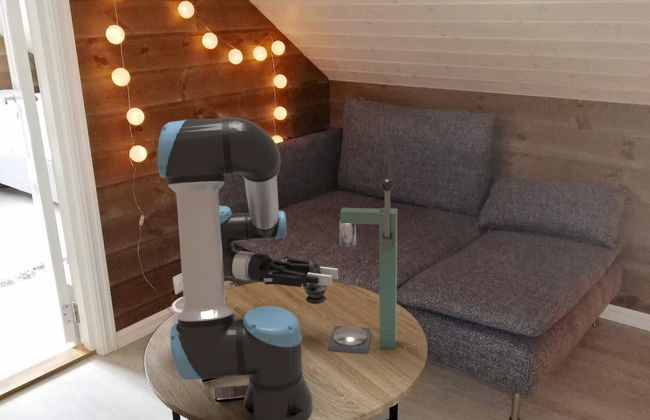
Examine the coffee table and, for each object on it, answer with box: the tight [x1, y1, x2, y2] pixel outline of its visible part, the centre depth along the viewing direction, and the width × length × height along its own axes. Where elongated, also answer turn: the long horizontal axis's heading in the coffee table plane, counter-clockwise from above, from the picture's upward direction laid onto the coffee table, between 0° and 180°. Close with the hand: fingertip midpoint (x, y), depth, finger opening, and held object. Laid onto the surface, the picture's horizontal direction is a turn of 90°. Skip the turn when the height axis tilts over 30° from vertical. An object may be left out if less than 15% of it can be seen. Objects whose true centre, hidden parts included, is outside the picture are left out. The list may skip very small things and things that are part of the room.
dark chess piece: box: [303, 256, 328, 305], centre depth 149 cm, size 6×6×12 cm
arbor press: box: [327, 178, 398, 354], centre depth 144 cm, size 10×17×46 cm, turn 79°
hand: (334, 277), depth 147 cm, fingers closed on dark chess piece, 4 cm apart
